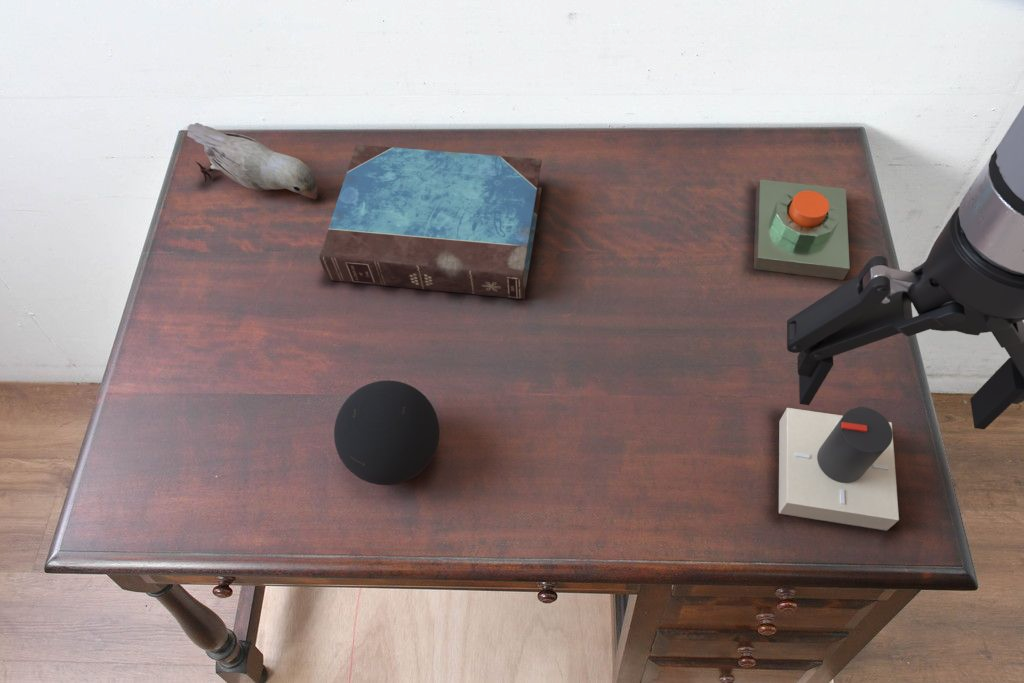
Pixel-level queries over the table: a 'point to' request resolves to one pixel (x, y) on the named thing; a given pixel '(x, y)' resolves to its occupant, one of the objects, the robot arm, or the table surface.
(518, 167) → the book
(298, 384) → the table surface
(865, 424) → the knob
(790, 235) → the button box
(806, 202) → the button
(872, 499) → the knob panel
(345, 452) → the speaker
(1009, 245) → the robot arm
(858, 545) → the table surface
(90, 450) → the table surface
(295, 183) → the decorative bird
